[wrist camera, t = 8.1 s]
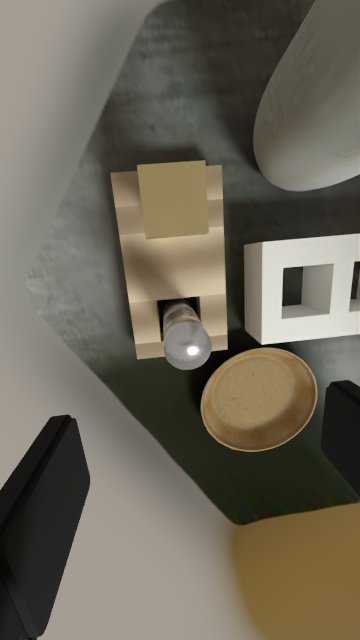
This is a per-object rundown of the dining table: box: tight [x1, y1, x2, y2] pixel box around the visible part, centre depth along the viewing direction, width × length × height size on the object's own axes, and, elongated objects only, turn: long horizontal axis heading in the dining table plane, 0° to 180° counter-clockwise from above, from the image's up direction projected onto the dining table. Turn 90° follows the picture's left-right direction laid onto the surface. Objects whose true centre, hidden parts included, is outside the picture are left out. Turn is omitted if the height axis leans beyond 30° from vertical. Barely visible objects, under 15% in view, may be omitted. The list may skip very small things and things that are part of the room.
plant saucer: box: [201, 348, 317, 452], centre depth 30 cm, size 15×15×3 cm
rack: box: [244, 234, 360, 345], centre depth 25 cm, size 10×16×5 cm, turn 95°
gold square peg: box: [137, 160, 209, 239], centre depth 20 cm, size 4×4×9 cm
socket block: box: [110, 165, 228, 359], centre depth 25 cm, size 18×10×3 cm, turn 5°
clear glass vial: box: [163, 298, 212, 370], centre depth 22 cm, size 4×4×11 cm
